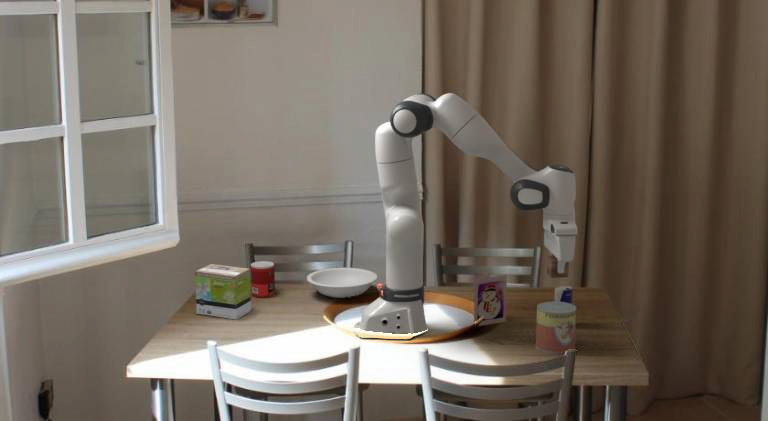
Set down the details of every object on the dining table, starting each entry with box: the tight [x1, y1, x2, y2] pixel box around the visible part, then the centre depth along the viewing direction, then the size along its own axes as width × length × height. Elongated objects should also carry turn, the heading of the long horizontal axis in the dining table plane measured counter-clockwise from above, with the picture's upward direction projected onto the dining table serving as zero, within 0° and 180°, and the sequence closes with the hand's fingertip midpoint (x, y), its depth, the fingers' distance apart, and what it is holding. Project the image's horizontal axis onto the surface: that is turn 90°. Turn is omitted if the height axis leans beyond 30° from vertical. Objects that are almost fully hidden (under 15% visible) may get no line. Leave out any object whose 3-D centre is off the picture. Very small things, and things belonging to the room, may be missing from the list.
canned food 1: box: [250, 260, 276, 299], centre depth 350 cm, size 8×8×11 cm
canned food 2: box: [535, 300, 577, 354], centre depth 298 cm, size 11×11×12 cm
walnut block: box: [546, 255, 570, 279], centre depth 294 cm, size 5×5×5 cm
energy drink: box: [553, 285, 573, 304], centre depth 317 cm, size 5×5×12 cm
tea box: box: [194, 263, 252, 321], centre depth 331 cm, size 15×10×15 cm, turn 68°
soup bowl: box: [306, 267, 378, 299], centre depth 350 cm, size 24×24×7 cm
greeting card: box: [473, 271, 508, 327], centre depth 321 cm, size 11×7×15 cm, turn 115°
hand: (557, 269), depth 294 cm, fingers closed on walnut block, 5 cm apart
